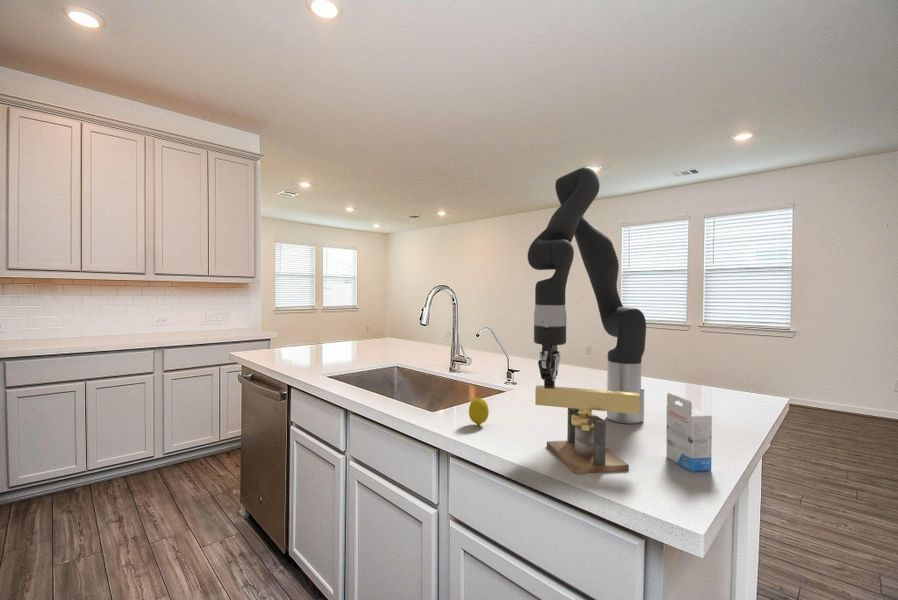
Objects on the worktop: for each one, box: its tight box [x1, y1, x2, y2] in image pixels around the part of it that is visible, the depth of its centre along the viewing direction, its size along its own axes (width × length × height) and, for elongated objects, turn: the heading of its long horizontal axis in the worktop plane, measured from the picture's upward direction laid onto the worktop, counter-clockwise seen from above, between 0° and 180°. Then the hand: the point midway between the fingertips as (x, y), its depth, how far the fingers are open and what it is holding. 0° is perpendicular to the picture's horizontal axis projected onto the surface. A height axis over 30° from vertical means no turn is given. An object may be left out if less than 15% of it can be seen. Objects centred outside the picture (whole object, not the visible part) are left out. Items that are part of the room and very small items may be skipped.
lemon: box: [468, 396, 490, 426], centre depth 113 cm, size 6×6×8 cm
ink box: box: [665, 392, 713, 472], centre depth 88 cm, size 9×5×15 cm, turn 5°
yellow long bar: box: [534, 384, 640, 431], centre depth 91 cm, size 10×22×8 cm, turn 72°
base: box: [546, 408, 630, 475], centre depth 91 cm, size 12×15×10 cm
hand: (549, 395), depth 97 cm, fingers closed
